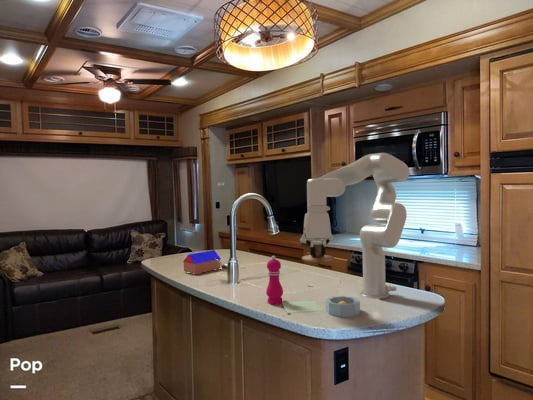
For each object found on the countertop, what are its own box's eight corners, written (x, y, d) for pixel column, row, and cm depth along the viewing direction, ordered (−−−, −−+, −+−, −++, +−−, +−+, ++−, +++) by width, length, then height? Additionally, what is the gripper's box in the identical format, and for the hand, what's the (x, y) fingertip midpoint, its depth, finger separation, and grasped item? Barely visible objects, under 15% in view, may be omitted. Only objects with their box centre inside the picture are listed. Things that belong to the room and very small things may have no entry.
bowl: (352, 307, 156) (352, 295, 156) (363, 317, 144) (363, 303, 144) (323, 309, 155) (323, 296, 154) (331, 319, 143) (331, 305, 143)
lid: (328, 256, 160) (328, 242, 160) (338, 261, 148) (338, 246, 148) (298, 257, 158) (298, 243, 158) (306, 262, 146) (306, 247, 146)
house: (221, 269, 241) (220, 250, 241) (195, 275, 227) (194, 255, 226) (208, 267, 249) (208, 249, 249) (183, 272, 234) (182, 253, 234)
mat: (314, 301, 165) (314, 300, 165) (323, 311, 152) (323, 310, 151) (282, 303, 164) (282, 302, 164) (287, 314, 150) (287, 312, 150)
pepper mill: (273, 305, 161) (271, 257, 161) (263, 302, 167) (261, 255, 167) (286, 302, 165) (285, 255, 165) (276, 299, 171) (275, 253, 171)
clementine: (346, 309, 151) (346, 299, 151) (349, 312, 148) (349, 302, 147) (336, 310, 151) (336, 300, 151) (339, 313, 147) (339, 303, 147)
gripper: (333, 209, 158) (334, 254, 158) (294, 210, 155) (295, 256, 156) (340, 209, 150) (340, 257, 151) (298, 210, 148) (299, 259, 148)
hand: (317, 256), depth 153 cm, fingers closed on lid, 3 cm apart
